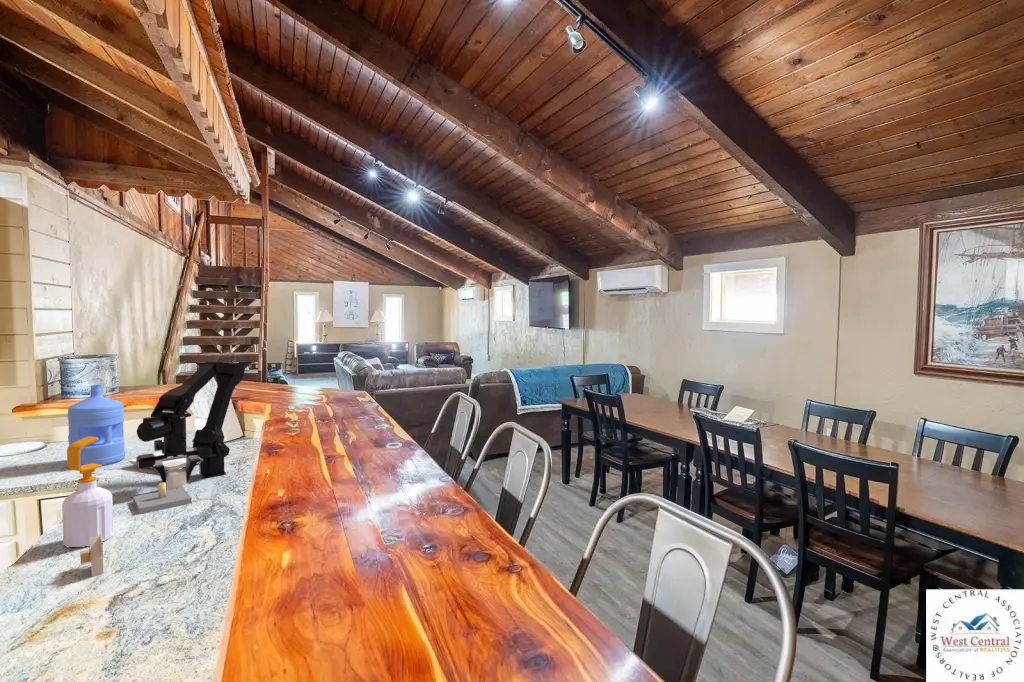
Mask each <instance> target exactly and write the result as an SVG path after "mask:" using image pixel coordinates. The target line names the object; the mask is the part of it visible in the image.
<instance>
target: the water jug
mask: <svg viewBox="0 0 1024 682" xmlns="http://www.w3.org/2000/svg"><path fill="white" fill-rule="evenodd" d="M89 387H90V390H89V391H90V395H89V397H87V398H85V399H84V400H81V401H79V402H76V403H75V404H72V405H70V406H69V407H68V408H67V421H68V422H67V423H68V436H67V437H68V439H67V440H68V441H67V442H68V446H69V445H71V444H72V443H74V442H76V441H79V440H81V439H83V438H85V437H88V436H92V437H98V440H97V441H95V442H93V443H91V444H89V445H87V446H85V447H83V448H82V449H81V452H80V463H81V466H82V465H86V464H91V463H95V464H101V465H102V467H103V466H108V465H111V464H115V463H118V462H120V461H123V460H124V459H125V458H126V450H125V437H124V435H125V434H124V419H125V418H124V417H125V407H124V402H123V401H120V400H119V401H118V400H116V399H113V398H109V397H106V396H103V394H102V393H103V389H102V384H93V385H92V384H91V385H90V386H89Z"/></svg>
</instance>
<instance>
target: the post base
mask: <svg viewBox="0 0 1024 682" xmlns="http://www.w3.org/2000/svg"><path fill="white" fill-rule="evenodd" d="M132 499H133V500H132V502H133V504H134V507H135V509H136V510H137V512H138V514H139V515H142V514H147V513H151V511H152V512H156V511H160V510H164V509H169V508H170V509H171V508H174V507H178V506H183V505H188V504H192V497H191V495H190V494H189V493H188V491H186V489H185V487H184V488H183V487H181V488H175V489H170V490H166V483H165V482H164V483H163V482H159V483H158V484H157V491H156V492H149V493H144V494H139V495H135V496H132ZM146 512H147V513H146ZM141 513H142V514H141Z"/></svg>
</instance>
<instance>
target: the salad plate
mask: <svg viewBox="0 0 1024 682" xmlns="http://www.w3.org/2000/svg"><path fill="white" fill-rule="evenodd" d="M192 450H194V448H193V445H192V446H191V445H186V451H192ZM153 455H154V456H159V455H164V454H163V453H162V450H160V451H155V452H153ZM178 456H181V455H178ZM172 457H173V456H172ZM136 458H137V457H134V458H130V459H128V462H129V463H130V464H132V465H133V466H137V465H136ZM167 458H168V457H167ZM199 458H200V457H199ZM200 459H201V458H200ZM169 462H185V463H182V464H178V465H175V466H164V468H165V471H166V470H172V469H179V468H183V467H186V458H180V459H174V460H168V461H162V464H165V463H169ZM198 463H199V462H197V463H196V465H199V464H198ZM149 469H152V468H151V467H150V468H149ZM183 469H184V468H183Z"/></svg>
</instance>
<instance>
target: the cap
mask: <svg viewBox="0 0 1024 682" xmlns="http://www.w3.org/2000/svg"><path fill="white" fill-rule="evenodd" d="M165 476H166V490H170V489H175V488H181V487H183V488H184V489H185V487H187V484H188V482H187V481H186V468H183V469H172V470H168V471H166V470H165Z"/></svg>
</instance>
